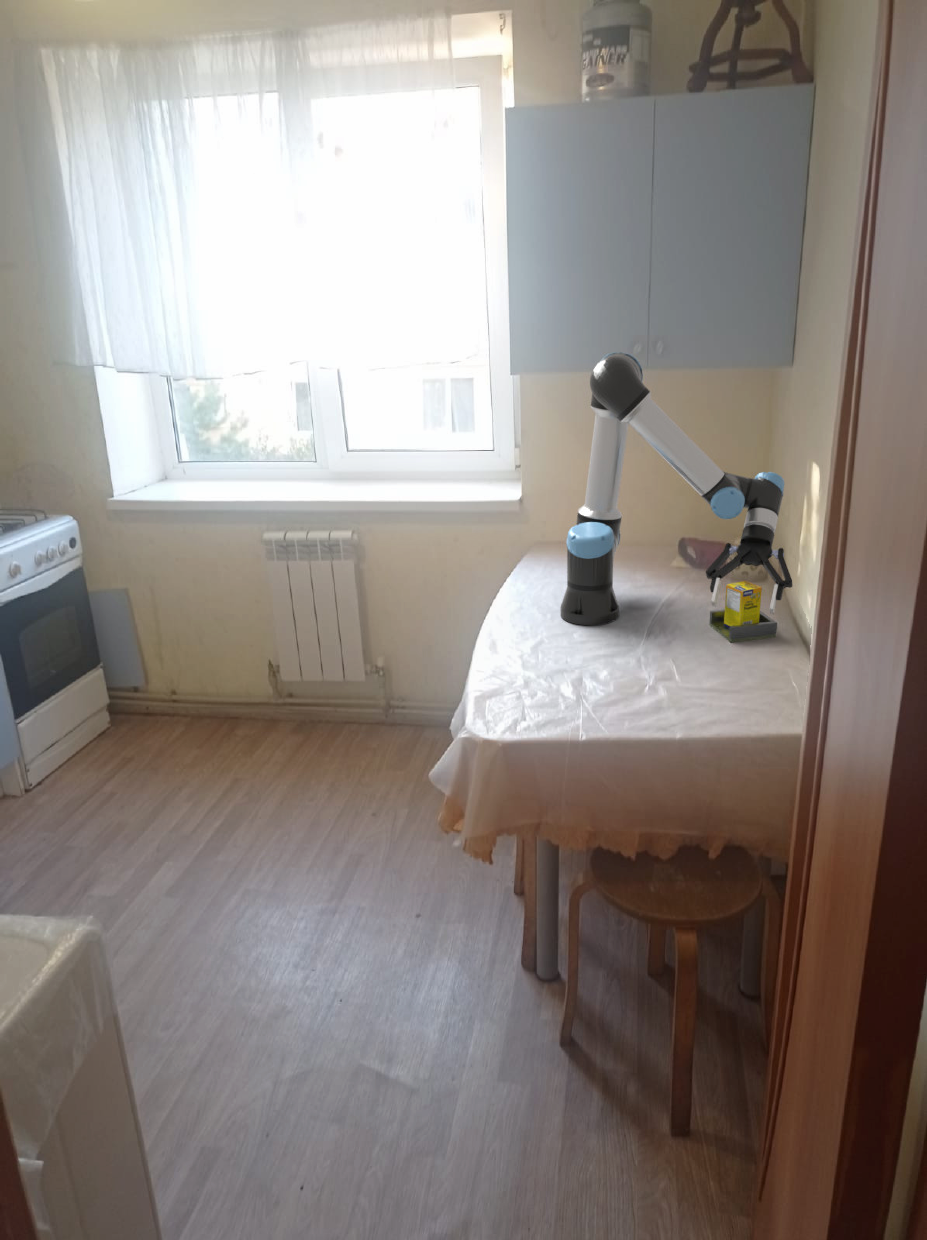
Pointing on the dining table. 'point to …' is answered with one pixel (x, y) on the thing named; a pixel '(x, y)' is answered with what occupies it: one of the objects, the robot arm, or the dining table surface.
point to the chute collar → (743, 628)
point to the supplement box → (742, 604)
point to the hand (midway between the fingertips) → (742, 607)
